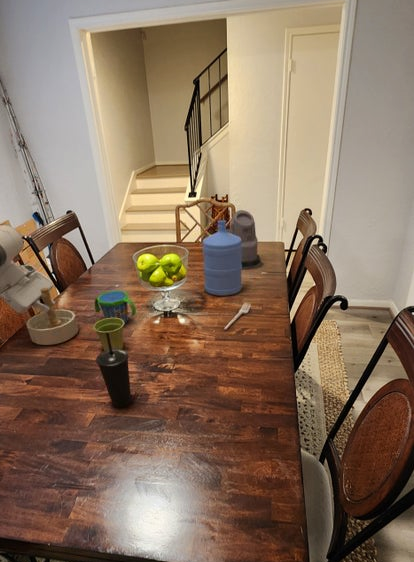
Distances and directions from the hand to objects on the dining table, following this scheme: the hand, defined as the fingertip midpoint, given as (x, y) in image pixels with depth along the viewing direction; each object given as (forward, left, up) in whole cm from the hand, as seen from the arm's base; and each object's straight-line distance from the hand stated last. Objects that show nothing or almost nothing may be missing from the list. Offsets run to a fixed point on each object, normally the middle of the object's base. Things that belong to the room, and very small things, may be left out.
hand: (51, 307), depth 123 cm
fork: (+63, -2, -10) cm, 64 cm away
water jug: (+63, +26, -10) cm, 69 cm away
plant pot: (+20, -14, -10) cm, 26 cm away
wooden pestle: (-1, 0, -8) cm, 8 cm away
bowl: (-1, 0, -10) cm, 10 cm away
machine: (+78, +63, -10) cm, 101 cm away
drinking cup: (+24, -42, -10) cm, 49 cm away
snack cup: (+20, +5, -10) cm, 23 cm away
